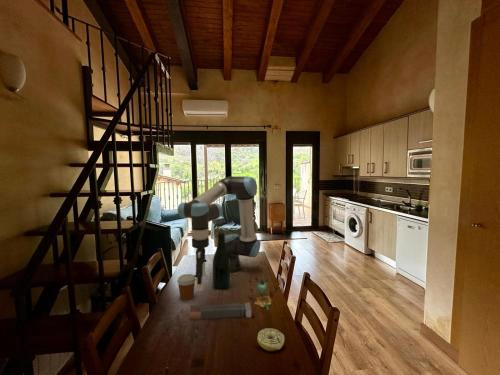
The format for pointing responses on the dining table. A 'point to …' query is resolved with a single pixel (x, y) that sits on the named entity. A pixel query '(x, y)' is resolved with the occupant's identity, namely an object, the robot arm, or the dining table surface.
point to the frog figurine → (262, 300)
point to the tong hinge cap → (247, 310)
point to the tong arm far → (218, 306)
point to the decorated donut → (268, 343)
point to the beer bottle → (221, 265)
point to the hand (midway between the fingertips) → (201, 282)
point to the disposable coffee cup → (186, 286)
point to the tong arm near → (217, 312)
